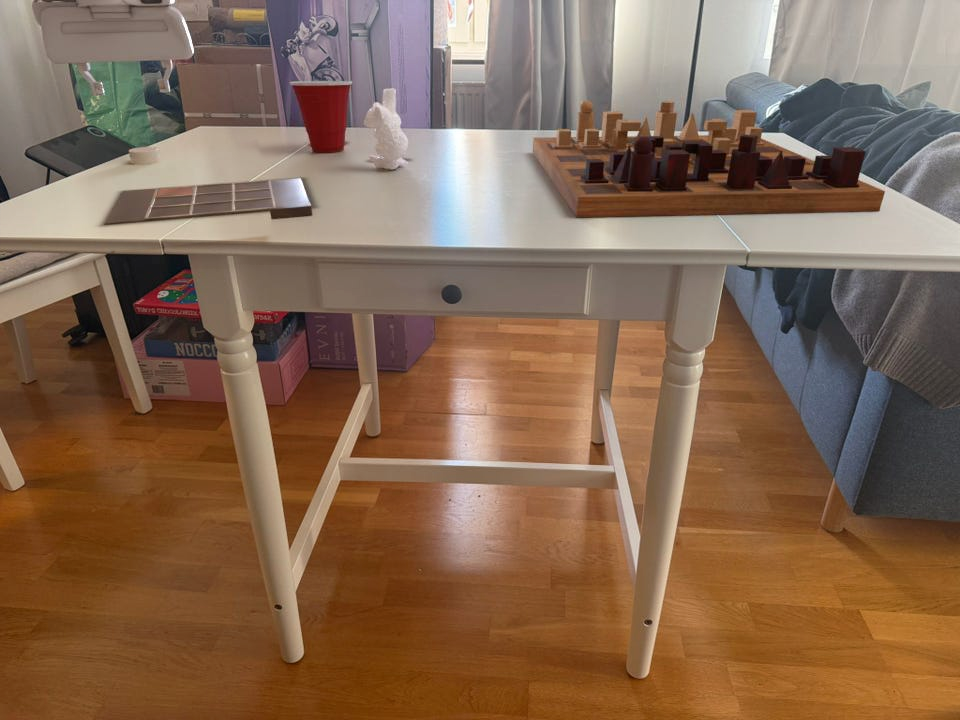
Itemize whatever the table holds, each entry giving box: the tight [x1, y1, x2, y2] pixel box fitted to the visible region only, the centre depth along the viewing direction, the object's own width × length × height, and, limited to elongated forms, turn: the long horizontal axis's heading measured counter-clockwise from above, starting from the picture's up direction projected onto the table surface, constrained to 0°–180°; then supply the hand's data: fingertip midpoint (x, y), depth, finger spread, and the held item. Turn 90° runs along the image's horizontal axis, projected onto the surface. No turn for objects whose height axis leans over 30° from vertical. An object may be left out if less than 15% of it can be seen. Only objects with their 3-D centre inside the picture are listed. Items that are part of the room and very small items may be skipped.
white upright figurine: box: [362, 87, 409, 171], centre depth 108 cm, size 8×7×12 cm
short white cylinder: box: [128, 146, 162, 166], centre depth 110 cm, size 4×4×3 cm
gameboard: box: [532, 100, 886, 218], centre depth 102 cm, size 40×40×9 cm
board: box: [103, 177, 313, 226], centre depth 89 cm, size 24×16×1 cm, turn 108°
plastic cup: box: [289, 80, 353, 154], centre depth 121 cm, size 11×11×12 cm
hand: (132, 93), depth 105 cm, fingers open, 8 cm apart
